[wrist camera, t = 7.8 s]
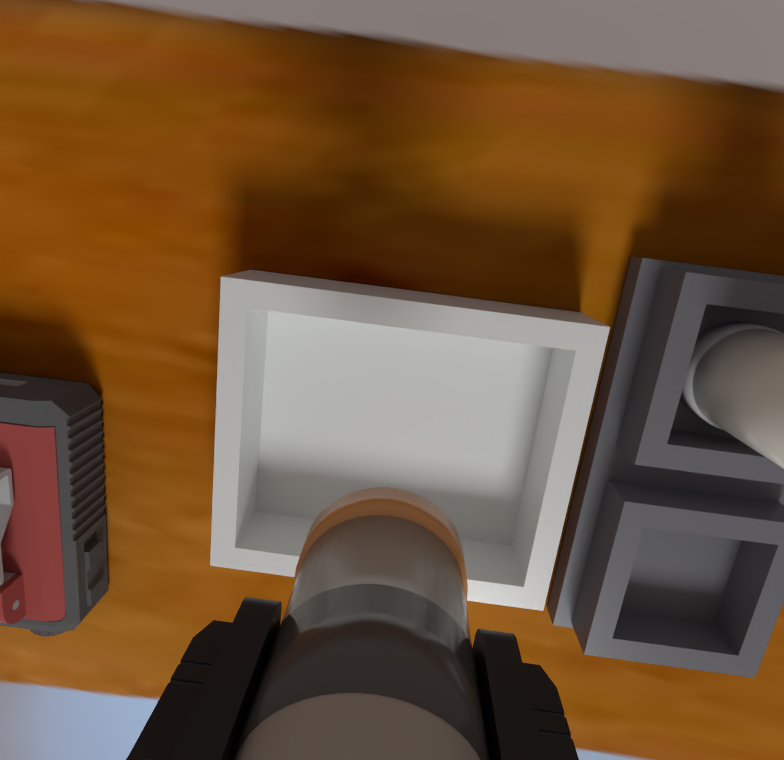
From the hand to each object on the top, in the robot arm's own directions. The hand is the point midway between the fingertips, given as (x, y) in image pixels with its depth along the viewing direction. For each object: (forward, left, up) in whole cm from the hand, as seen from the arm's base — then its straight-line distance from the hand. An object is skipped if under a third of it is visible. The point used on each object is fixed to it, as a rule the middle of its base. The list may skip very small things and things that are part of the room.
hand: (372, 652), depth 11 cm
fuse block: (-13, 0, -14) cm, 19 cm away
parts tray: (0, 0, -14) cm, 14 cm away
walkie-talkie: (+17, +9, -14) cm, 24 cm away
